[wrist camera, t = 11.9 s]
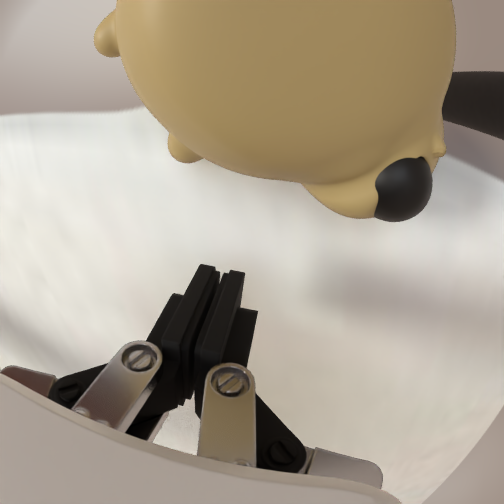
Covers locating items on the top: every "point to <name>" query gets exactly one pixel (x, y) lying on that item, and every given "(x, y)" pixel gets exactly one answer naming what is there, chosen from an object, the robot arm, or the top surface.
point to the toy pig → (298, 90)
